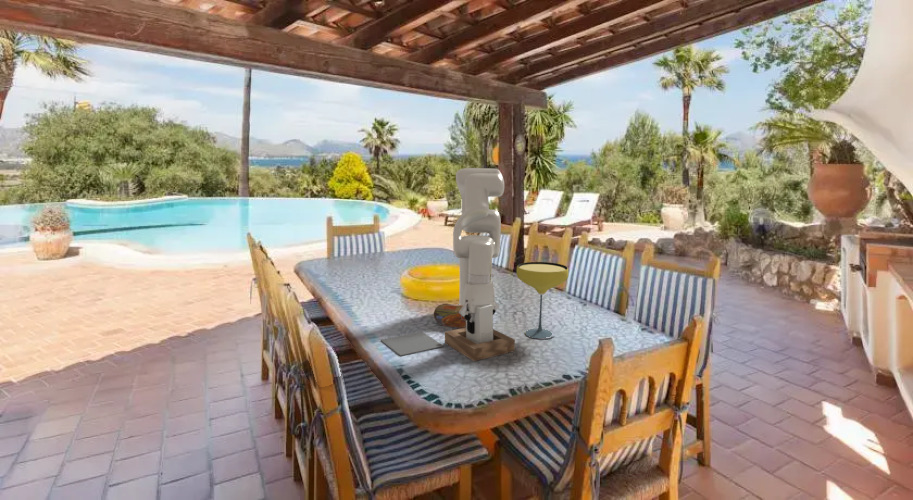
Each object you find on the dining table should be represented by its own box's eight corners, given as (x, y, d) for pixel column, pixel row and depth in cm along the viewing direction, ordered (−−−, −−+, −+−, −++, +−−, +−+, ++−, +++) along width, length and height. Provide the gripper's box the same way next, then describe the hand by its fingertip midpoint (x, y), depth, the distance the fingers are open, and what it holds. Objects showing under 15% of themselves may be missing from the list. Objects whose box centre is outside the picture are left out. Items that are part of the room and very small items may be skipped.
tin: (433, 324, 182) (433, 303, 180) (436, 322, 184) (436, 301, 183) (470, 329, 176) (471, 307, 175) (473, 326, 179) (473, 305, 178)
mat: (421, 332, 172) (421, 331, 172) (444, 346, 159) (444, 345, 159) (380, 340, 164) (380, 339, 164) (400, 356, 151) (400, 355, 151)
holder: (483, 334, 171) (483, 324, 170) (514, 351, 156) (514, 339, 155) (444, 342, 162) (444, 331, 162) (473, 361, 147) (474, 349, 147)
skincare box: (493, 348, 158) (494, 305, 155) (478, 352, 154) (480, 308, 152) (478, 340, 165) (479, 299, 162) (464, 343, 161) (465, 301, 159)
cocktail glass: (567, 329, 177) (571, 263, 173) (562, 346, 160) (565, 274, 156) (520, 323, 183) (522, 260, 179) (509, 339, 166) (511, 269, 162)
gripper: (494, 273, 163) (493, 323, 166) (451, 279, 154) (451, 332, 157) (508, 277, 156) (506, 329, 160) (464, 284, 148) (463, 339, 151)
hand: (479, 330), depth 158 cm, fingers closed on skincare box, 5 cm apart
